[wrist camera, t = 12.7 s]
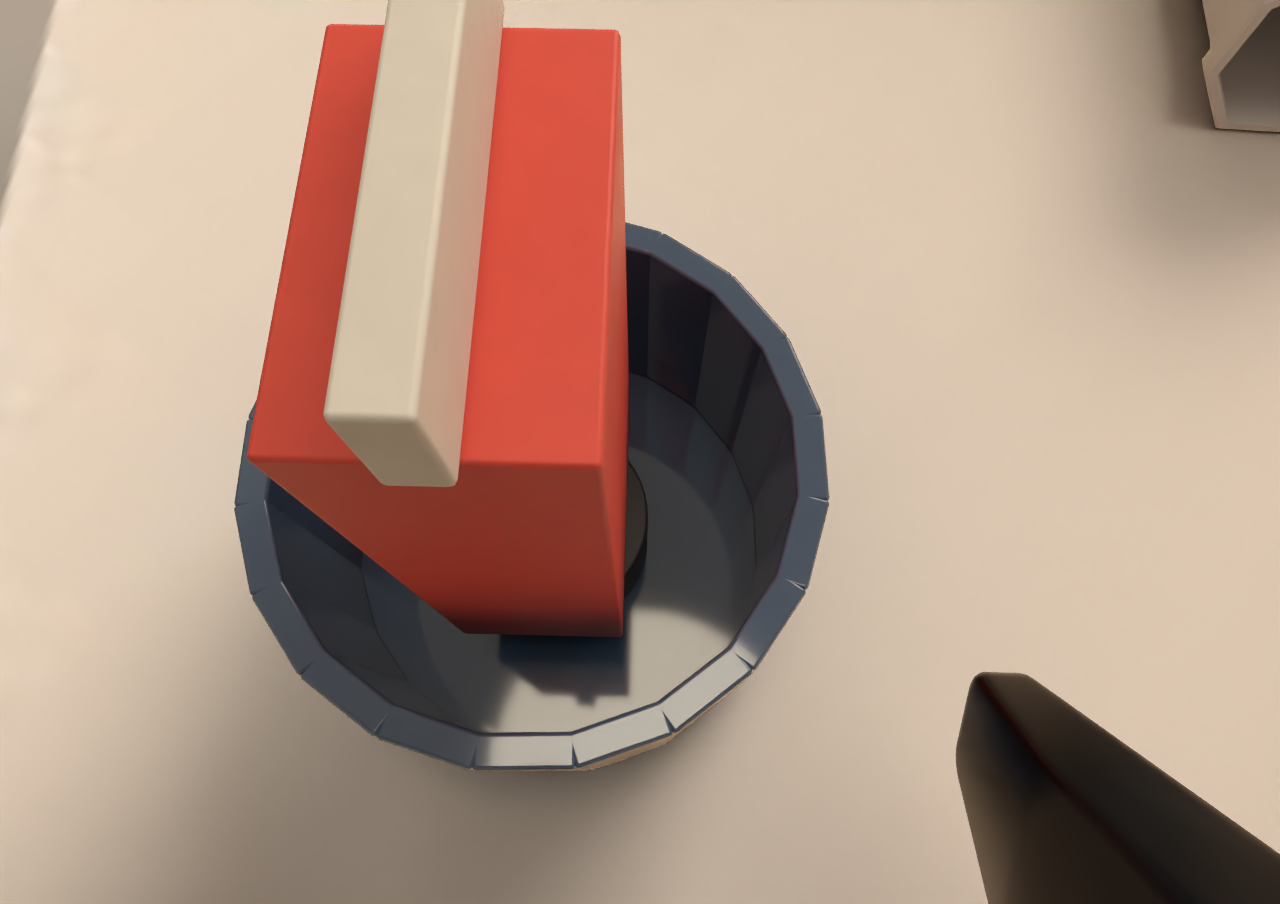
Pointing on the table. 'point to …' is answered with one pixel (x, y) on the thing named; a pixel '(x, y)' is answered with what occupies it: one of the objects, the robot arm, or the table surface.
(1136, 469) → the table surface
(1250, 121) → the tube
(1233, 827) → the robot arm
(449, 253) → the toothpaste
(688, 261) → the holder
